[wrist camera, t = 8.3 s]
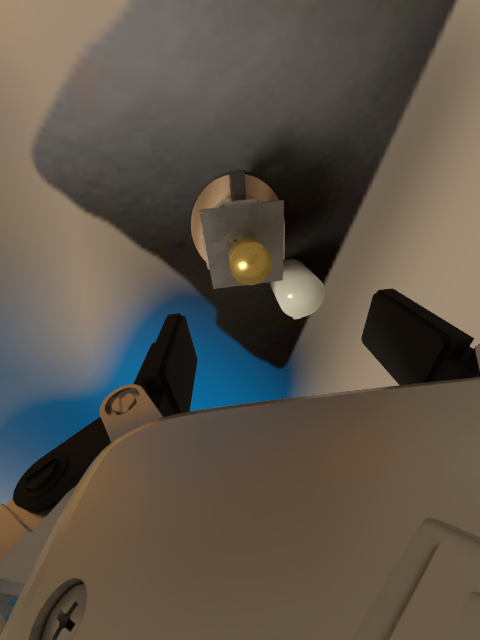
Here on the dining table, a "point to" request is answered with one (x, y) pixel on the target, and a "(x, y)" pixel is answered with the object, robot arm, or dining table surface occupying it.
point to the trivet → (216, 194)
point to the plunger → (249, 260)
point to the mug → (298, 290)
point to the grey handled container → (241, 231)
